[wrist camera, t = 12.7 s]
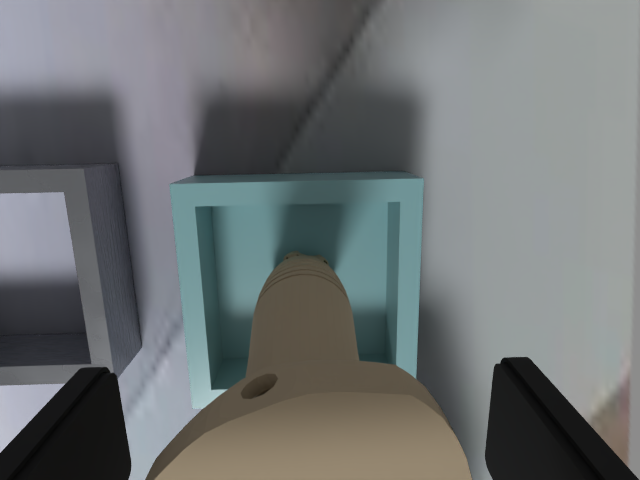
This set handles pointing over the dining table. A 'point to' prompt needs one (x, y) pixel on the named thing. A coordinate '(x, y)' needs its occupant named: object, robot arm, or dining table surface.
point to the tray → (309, 239)
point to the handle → (314, 400)
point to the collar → (80, 278)
